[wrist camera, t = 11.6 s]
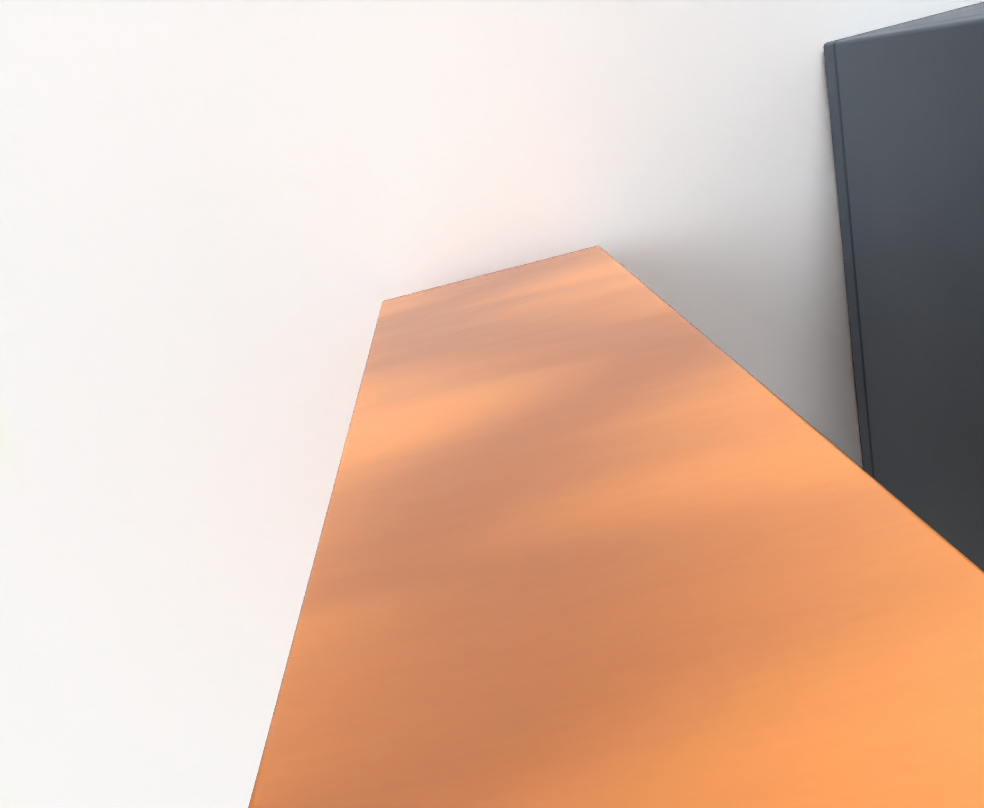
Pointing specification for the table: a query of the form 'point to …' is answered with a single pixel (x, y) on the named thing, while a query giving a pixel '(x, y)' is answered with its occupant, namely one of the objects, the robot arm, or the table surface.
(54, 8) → the table surface
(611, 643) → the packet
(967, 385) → the tote
